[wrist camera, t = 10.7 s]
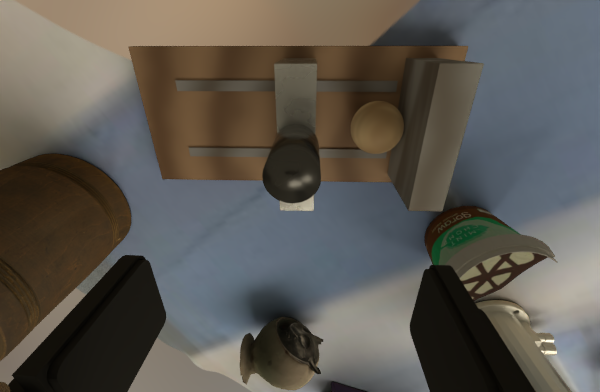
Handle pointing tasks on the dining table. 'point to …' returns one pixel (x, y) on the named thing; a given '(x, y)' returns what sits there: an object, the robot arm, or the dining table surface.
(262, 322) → the dining table surface
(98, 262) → the wooden container
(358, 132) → the walnut
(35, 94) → the dining table surface
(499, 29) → the dining table surface
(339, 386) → the book
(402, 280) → the dining table surface
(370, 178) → the base
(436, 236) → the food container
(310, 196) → the sliding jaw
